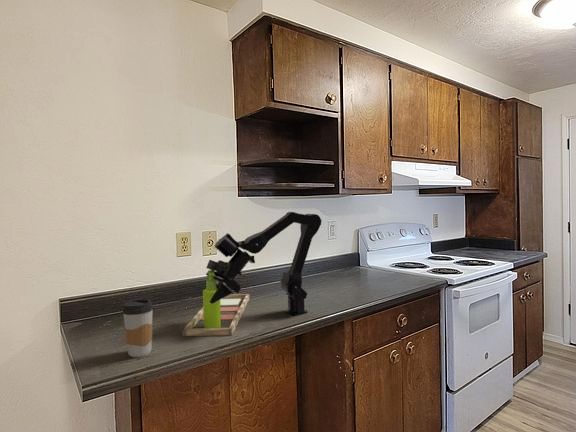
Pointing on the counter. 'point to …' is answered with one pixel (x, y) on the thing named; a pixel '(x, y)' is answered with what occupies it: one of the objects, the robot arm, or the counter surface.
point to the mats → (227, 309)
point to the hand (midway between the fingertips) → (207, 300)
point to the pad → (229, 302)
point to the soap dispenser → (211, 310)
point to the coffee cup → (138, 326)
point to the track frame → (216, 331)
